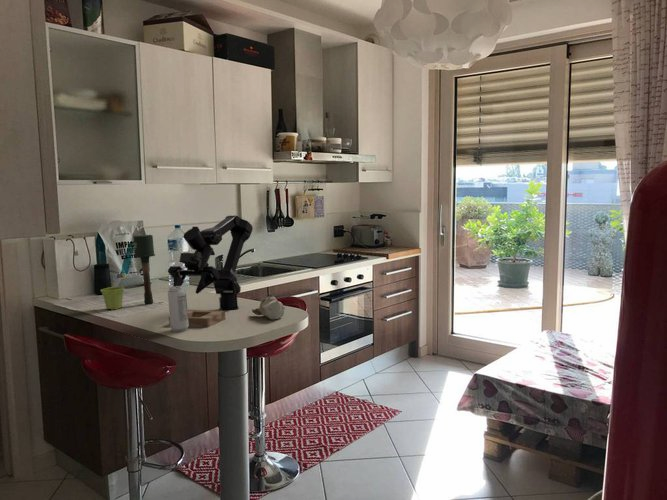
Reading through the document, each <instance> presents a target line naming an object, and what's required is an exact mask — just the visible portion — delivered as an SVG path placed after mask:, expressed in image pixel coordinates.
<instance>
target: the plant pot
mask: <svg viewBox="0 0 667 500" xmlns="http://www.w3.org/2000/svg"><path fill="white" fill-rule="evenodd" d="M124 290H125V286H111V287H106V288H102V289H100V290H99V291H100V292H101V294H102V296H103V299H104V304H105V308H106V310H107V309H111V310H113V309H116V310H119V309H118V308H120V309H122V308H123V298H124V295H123V294H124ZM121 307H122V308H121Z"/></svg>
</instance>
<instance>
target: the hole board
mask: <svg viewBox="0 0 667 500" xmlns="http://www.w3.org/2000/svg"><path fill="white" fill-rule="evenodd" d="M187 310H188V323H189V327H193V328H194V327H198V328H209V327H211V326H213V325H216V324H218V323H220V322H222V321H225V320H226V310H210V309H209V310H208V309H207V310H206V309H205V310H203V309H187ZM168 324H169V325H168V326H170V316H168Z"/></svg>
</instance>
